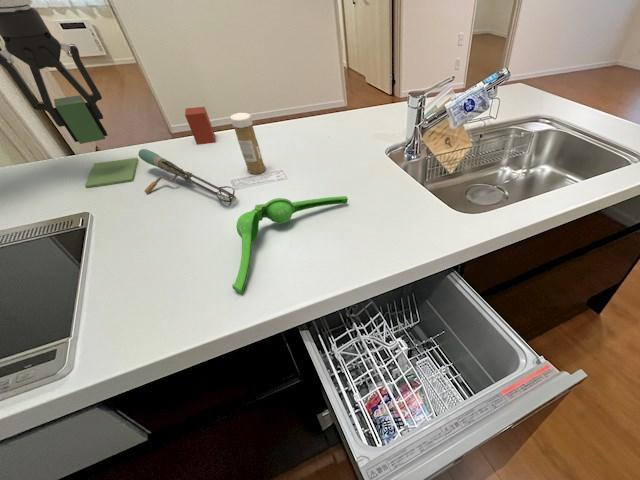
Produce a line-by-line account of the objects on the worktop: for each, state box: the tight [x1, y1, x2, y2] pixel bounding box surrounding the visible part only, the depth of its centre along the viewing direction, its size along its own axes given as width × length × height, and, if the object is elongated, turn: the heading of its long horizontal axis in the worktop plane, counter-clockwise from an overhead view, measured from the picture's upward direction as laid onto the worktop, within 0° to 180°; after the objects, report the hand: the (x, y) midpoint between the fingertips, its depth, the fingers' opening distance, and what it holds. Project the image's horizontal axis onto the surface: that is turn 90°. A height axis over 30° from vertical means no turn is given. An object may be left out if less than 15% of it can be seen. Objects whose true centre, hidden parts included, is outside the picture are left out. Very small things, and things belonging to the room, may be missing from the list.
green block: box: [53, 94, 106, 145], centre depth 78 cm, size 5×5×8 cm
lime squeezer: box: [232, 195, 349, 295], centre depth 70 cm, size 34×12×6 cm, turn 152°
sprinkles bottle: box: [230, 112, 266, 175], centre depth 85 cm, size 5×5×13 cm
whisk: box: [138, 148, 237, 208], centre depth 81 cm, size 11×32×7 cm, turn 58°
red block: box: [184, 106, 216, 145], centre depth 99 cm, size 5×5×8 cm
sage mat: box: [84, 157, 139, 189], centre depth 87 cm, size 12×10×1 cm
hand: (91, 136), depth 81 cm, fingers closed on green block, 5 cm apart
